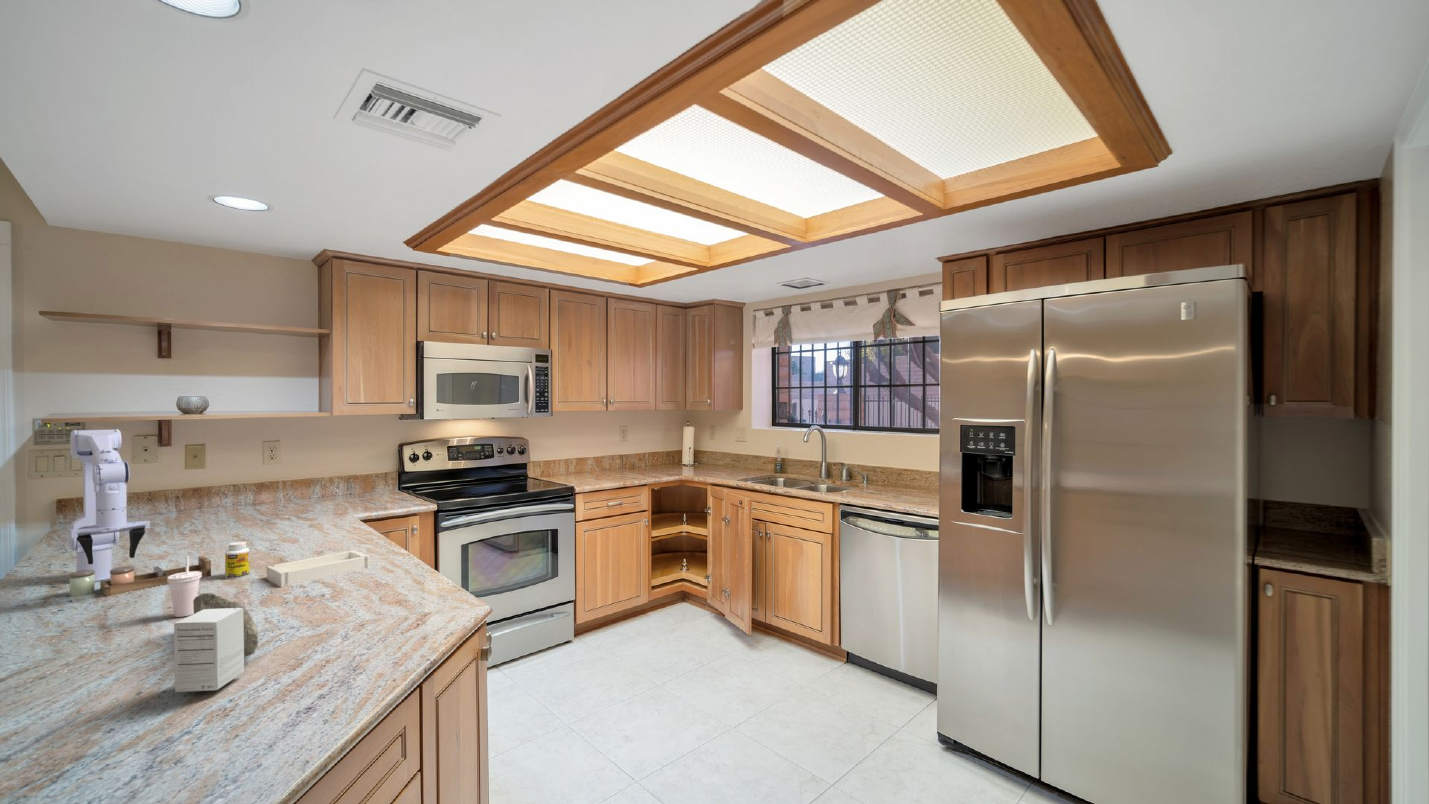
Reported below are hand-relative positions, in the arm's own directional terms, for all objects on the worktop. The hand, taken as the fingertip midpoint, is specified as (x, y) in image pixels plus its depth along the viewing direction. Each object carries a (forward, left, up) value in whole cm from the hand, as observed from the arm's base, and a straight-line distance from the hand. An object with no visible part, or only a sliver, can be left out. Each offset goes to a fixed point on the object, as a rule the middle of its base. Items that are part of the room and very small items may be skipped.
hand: (111, 560), depth 155 cm
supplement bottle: (+2, +26, -11) cm, 28 cm away
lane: (-9, +10, -10) cm, 17 cm away
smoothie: (+29, +9, -11) cm, 32 cm away
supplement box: (+79, +3, -11) cm, 80 cm away
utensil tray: (+18, +42, -10) cm, 47 cm away
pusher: (-9, +10, -10) cm, 17 cm away
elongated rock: (+60, +10, -11) cm, 62 cm away
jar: (-13, -4, -10) cm, 17 cm away
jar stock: (-9, +3, -10) cm, 14 cm away
